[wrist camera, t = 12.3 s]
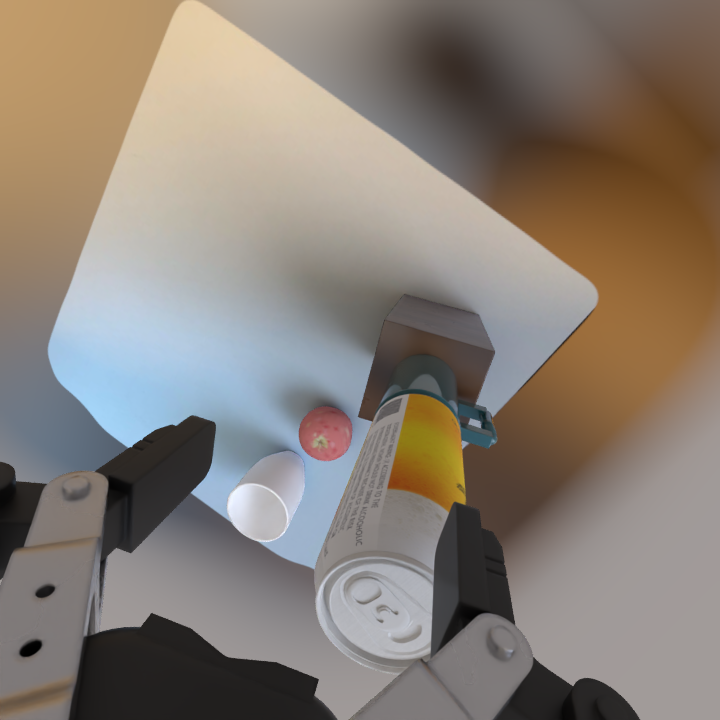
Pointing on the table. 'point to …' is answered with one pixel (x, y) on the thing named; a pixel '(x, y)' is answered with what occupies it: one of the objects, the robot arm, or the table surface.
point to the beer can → (391, 535)
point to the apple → (325, 433)
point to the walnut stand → (430, 348)
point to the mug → (268, 496)
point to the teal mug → (439, 394)
